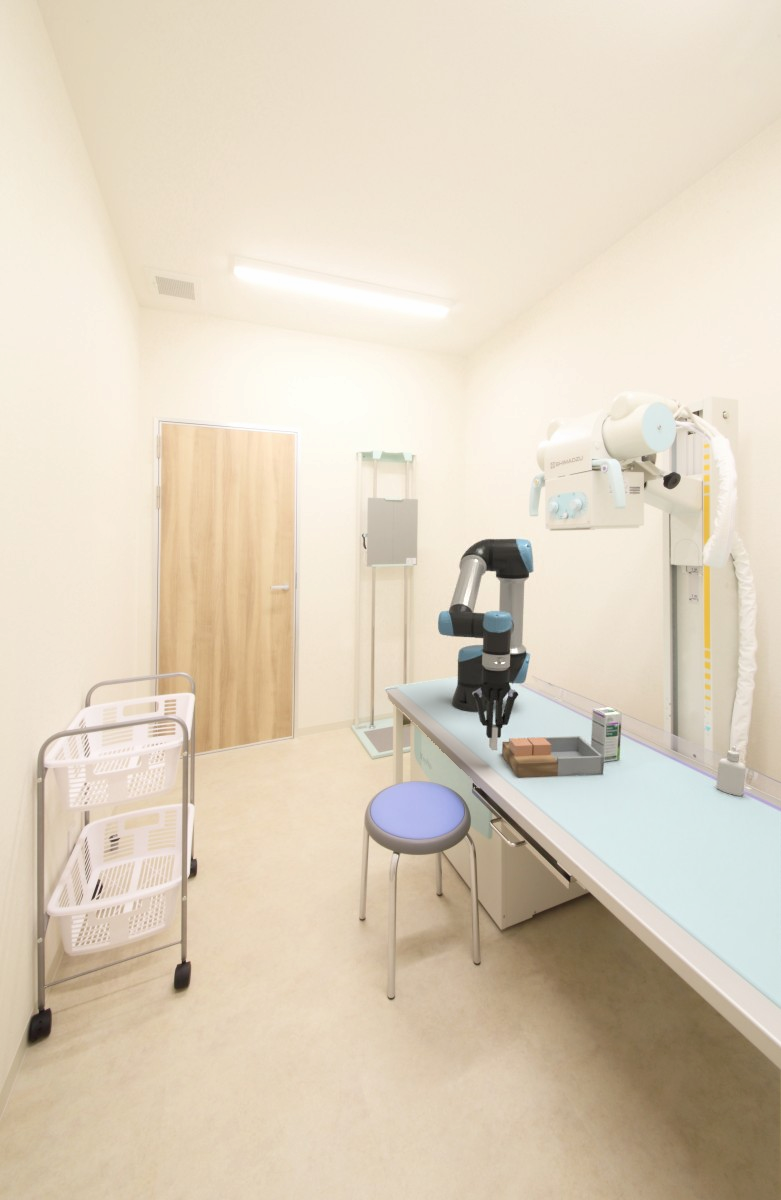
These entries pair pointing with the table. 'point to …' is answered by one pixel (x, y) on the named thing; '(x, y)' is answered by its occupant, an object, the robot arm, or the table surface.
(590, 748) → the bin
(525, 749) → the tile
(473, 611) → the robot arm
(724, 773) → the eye dropper bottle
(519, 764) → the board
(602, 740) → the syrup box
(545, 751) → the tile
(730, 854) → the table surface
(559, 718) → the table surface
